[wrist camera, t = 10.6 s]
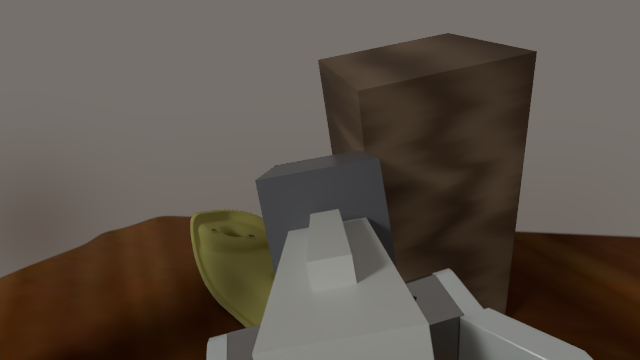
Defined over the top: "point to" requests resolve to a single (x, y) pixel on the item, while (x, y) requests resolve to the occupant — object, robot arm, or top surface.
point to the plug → (335, 266)
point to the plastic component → (234, 261)
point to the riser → (440, 149)
